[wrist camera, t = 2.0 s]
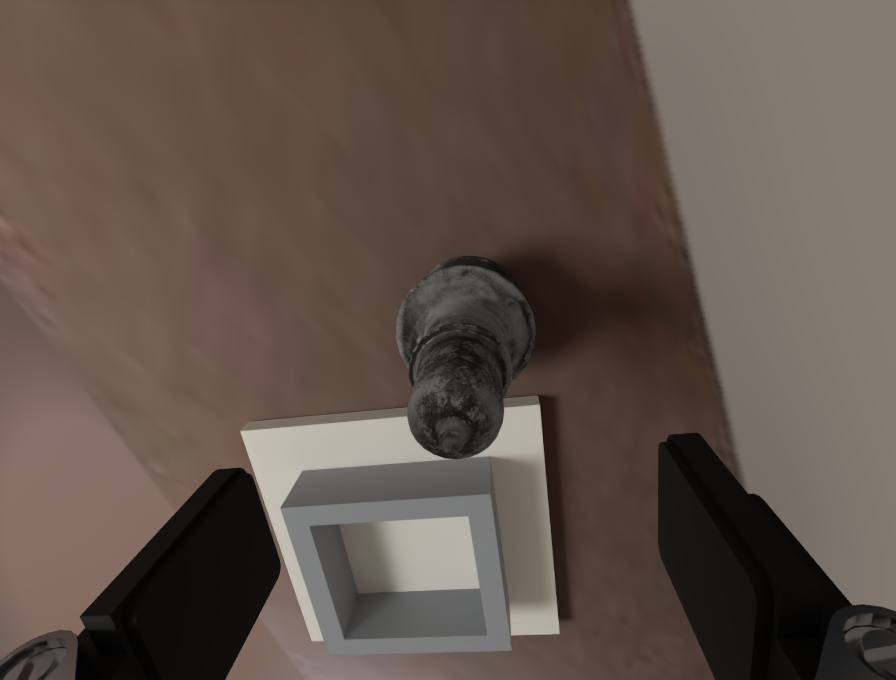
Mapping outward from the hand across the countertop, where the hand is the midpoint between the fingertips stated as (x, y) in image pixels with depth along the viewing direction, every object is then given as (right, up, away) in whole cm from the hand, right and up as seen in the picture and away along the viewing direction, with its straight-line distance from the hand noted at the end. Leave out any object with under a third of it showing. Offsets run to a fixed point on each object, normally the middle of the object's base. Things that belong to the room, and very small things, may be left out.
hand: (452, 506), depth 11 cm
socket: (-2, -7, +17) cm, 19 cm away
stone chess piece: (+1, +5, +13) cm, 14 cm away
